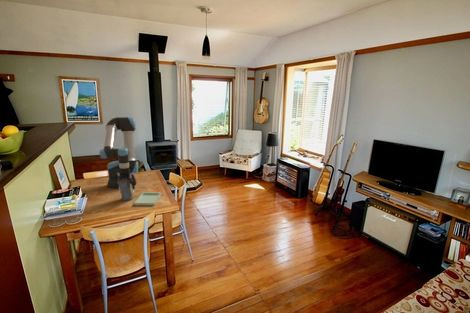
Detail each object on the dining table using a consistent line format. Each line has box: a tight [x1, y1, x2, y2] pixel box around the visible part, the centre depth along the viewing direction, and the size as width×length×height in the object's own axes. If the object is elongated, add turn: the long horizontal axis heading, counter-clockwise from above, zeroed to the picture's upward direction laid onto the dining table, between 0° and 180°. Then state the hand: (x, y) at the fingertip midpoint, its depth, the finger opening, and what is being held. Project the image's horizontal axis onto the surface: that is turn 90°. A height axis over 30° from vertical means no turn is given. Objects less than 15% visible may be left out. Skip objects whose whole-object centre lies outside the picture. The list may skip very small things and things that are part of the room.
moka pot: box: [116, 177, 137, 202], centre depth 200 cm, size 10×15×20 cm, turn 135°
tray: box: [133, 191, 162, 207], centre depth 201 cm, size 21×16×2 cm
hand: (126, 192), depth 201 cm, fingers closed on moka pot, 9 cm apart
